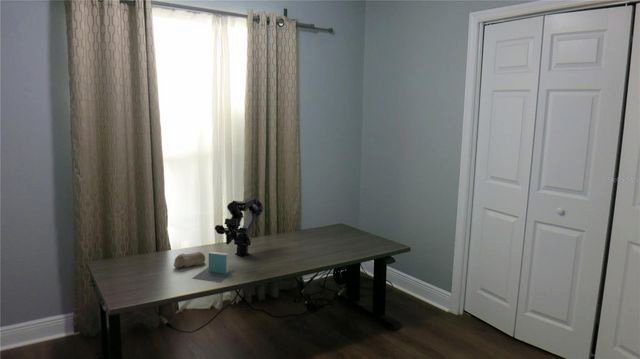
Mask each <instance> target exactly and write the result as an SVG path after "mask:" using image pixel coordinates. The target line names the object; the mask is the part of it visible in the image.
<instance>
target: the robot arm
mask: <svg viewBox="0 0 640 359" xmlns="http://www.w3.org/2000/svg"><path fill="white" fill-rule="evenodd" d="M226 208H227V210H228V211H229V214H230V215H231V217H230V218H225V219H224V225H225V227H224V225H221V224H217V225H215V226H214V230H215V232H216V233H217V234H218V235H224V234H225V239H226V240H225V244H226V245H229V244H231V243H232V242H233V244H234V246H235V245H236V253H234V255H236V256H238V257H239V256H240V257H245V256H248V255H250V254H251V253H250V252H249V246H251V245H252V240H251V238H250V236H249V234H250V231H251V229H252V227H253V225H254V223H255V220H256V219H257V217H259V216H261V215H262V213H263V212H264V206H263V204H262V203H261V201H260V200H259V198H257V197H249V198H247V199H244V200H232V201H231V202H229V203H228V204H227V206H226ZM246 211H249V213H248V214H247V215H248V216H247V217H246V220H245V221H244V224H243V225H242V227H241V222H242V219H244V213H243V212H246Z"/></svg>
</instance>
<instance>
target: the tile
mask: <svg viewBox="0 0 640 359" xmlns="http://www.w3.org/2000/svg"><path fill="white" fill-rule="evenodd" d="M229 257H230V256H229V253H228V252H227V253H225V252H218V251H210V252H208V267H209V271H210V272H217V273H225V274H226V273H227V272H228V270H229V261H230V260H229Z"/></svg>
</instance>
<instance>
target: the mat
mask: <svg viewBox="0 0 640 359" xmlns="http://www.w3.org/2000/svg"><path fill="white" fill-rule="evenodd" d="M235 272H236V270H234V269H228V272H227V273H226V274H225V273H217V272H210V271H209V266H208V267H206V268H205V269H203V270H202V271H200V272H199V273H198V274H196V275H194V276H193V277H192V278H191V280H192V279H193V280H197V281H204V282H207V281H208V282H211V283H222V282H224V281H225V280H226V279H227V278H229V277H230V276H231V275H232V274H233V273H235Z"/></svg>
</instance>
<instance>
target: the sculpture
mask: <svg viewBox="0 0 640 359" xmlns="http://www.w3.org/2000/svg"><path fill="white" fill-rule="evenodd" d="M205 262H206V256H205V254H204V253H203V252H201V251H196V252H192V253H181V254H178V255H177V256H176V257H175V259H174V262H173V266H174V268H175V269H178V270H179V269H181V268H182V267H183V268H189V267H191V266H203V265H204V263H205Z"/></svg>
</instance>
